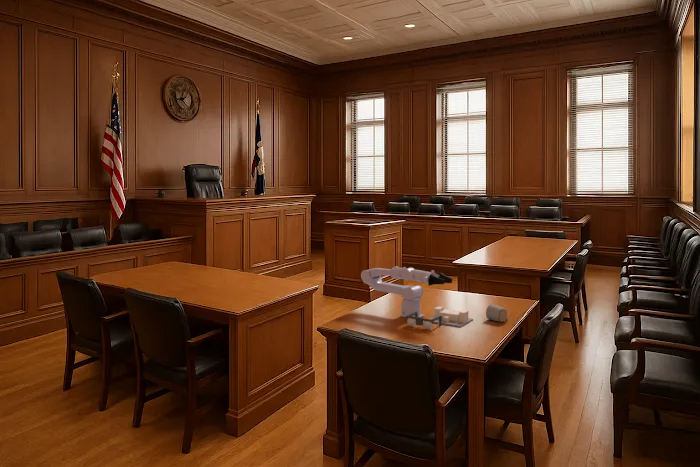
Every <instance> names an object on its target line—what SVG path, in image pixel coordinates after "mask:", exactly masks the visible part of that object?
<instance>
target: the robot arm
mask: <svg viewBox="0 0 700 467" xmlns="http://www.w3.org/2000/svg"><path fill="white" fill-rule="evenodd" d="M381 276H390V277H391V278H392V279H398V280H399V279H401V280H404V281H409V280H410V281H416V282H420V283H424V284H427V285H428V286H434V285H445V284H452V283H453V278H452V277H449V276H447V275H446V274H444V273H443V272H439V274H437V273H436V272H435V270H433V269H431V271H425V270H421V269H415V268H414V267H413V266H412V267H411V266H409V267H408V268H407V267H406V266H403V267H399V265H397V266H396V265H395V266H394V267H392V268H381V267H373V268H369V269H363V270H362V271H361V273H360V278H361V280H362V282H363V284H366V285H368V286H369V287H371V288H372V289H373V290H374V291H379V292H382V293H389V294H393V295H398V296H400V297H402V298H403V299H402V301H401V304H400V305H401V313H400V314H401V315H400V317H402V318H406V316H407V315H409V314H412V313H414V312H418V317H424V316H425V315H424V314H421V313H422V312H421V311H422V310H421V305H422V303H421V302H422V300H421V299H422V296H424V289H423V287H422V286H421V285H419V284H416V285H401V284H397V283H390V282H385V281H383V279H382V277H381ZM413 317H415V315H413Z"/></svg>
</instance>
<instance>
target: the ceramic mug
mask: <svg viewBox="0 0 700 467" xmlns="http://www.w3.org/2000/svg"><path fill="white" fill-rule="evenodd" d="M485 316H486V318H487V320H490V321H494V322H497V323H503V322H505V321H506V320H508V318H509V316H508V310H507V309H506V308H504V307H502V306H499V305H496V304H489V305H488V306H487V308H486V310H485Z"/></svg>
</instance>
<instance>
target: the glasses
mask: <svg viewBox="0 0 700 467" xmlns="http://www.w3.org/2000/svg"><path fill="white" fill-rule="evenodd" d="M413 315H415V317H413ZM405 318H406V319H407V321H406V322H407V325H408V326H409V327H416V326H421V327H422V326H423V328H424V329H425V330H431V329H432V327H433V323H431V322H433V321H435V320H437V319H439V324H438V326H439V327H440V326H443V325H442V316H441V315H440V316H438V317H436V318H434V319H432V320H431V319H430V318H426V317H425V318H424V316H422V317H418V312H414V313H412V314H409V315H407V316H406V317H405Z"/></svg>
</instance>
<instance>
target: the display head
mask: <svg viewBox="0 0 700 467" xmlns="http://www.w3.org/2000/svg"><path fill="white" fill-rule="evenodd" d="M433 310H434V312H433V314H434V315H433V316H432V317H431V318H429V319H431V320H432V319H434V318H436V317H438V316H440V315H441V316H442V325H441V326H448V327H449V326H450V327H456V328H460V329H461V328H463V327H464V326H466V325H468V324H469V323H471V322H473V321H474V318H471V317H469V310H467V309H463V310H461V311H460V310H455V309H448V308H444V306H440V305H439V306H437V307H434V308H433ZM431 323H432V324H436V325H439V319H437V320H435V321H433V322H431Z"/></svg>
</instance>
